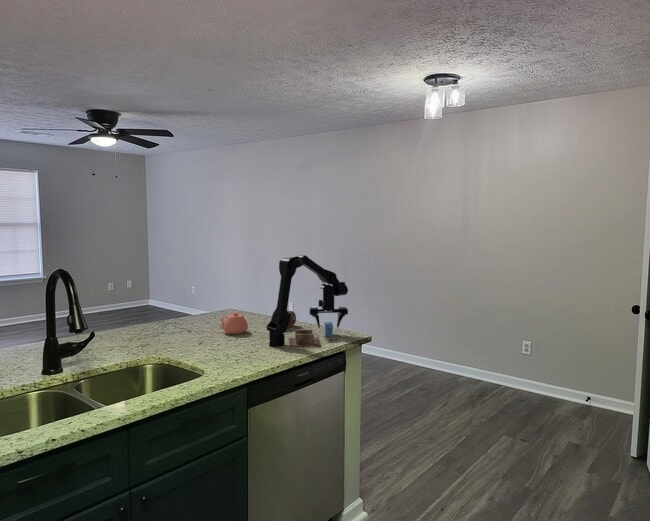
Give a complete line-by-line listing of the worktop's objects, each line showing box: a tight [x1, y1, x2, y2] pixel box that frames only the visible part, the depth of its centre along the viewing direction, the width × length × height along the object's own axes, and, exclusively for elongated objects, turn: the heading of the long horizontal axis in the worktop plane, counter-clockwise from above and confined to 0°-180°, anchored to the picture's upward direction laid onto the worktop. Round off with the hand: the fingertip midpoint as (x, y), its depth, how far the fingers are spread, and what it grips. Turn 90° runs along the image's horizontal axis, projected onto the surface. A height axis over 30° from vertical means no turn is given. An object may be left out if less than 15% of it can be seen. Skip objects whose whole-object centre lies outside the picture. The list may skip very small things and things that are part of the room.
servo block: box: [323, 321, 334, 337], centre depth 230 cm, size 3×9×6 cm, turn 7°
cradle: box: [288, 328, 322, 348], centre depth 215 cm, size 14×14×5 cm
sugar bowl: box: [219, 312, 249, 335], centre depth 233 cm, size 12×14×10 cm
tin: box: [287, 310, 297, 329], centre depth 245 cm, size 15×3×8 cm, turn 143°
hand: (328, 328), depth 230 cm, fingers open, 9 cm apart
